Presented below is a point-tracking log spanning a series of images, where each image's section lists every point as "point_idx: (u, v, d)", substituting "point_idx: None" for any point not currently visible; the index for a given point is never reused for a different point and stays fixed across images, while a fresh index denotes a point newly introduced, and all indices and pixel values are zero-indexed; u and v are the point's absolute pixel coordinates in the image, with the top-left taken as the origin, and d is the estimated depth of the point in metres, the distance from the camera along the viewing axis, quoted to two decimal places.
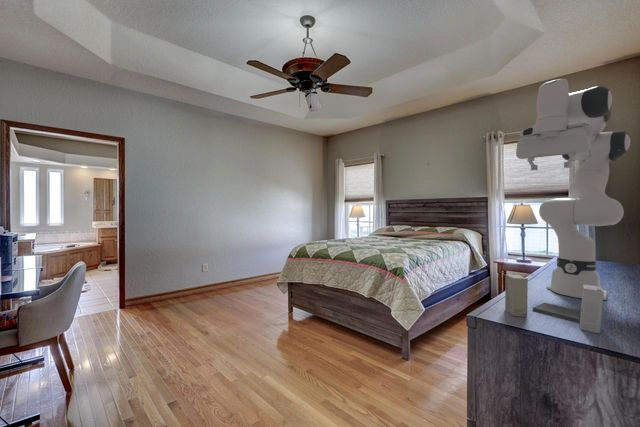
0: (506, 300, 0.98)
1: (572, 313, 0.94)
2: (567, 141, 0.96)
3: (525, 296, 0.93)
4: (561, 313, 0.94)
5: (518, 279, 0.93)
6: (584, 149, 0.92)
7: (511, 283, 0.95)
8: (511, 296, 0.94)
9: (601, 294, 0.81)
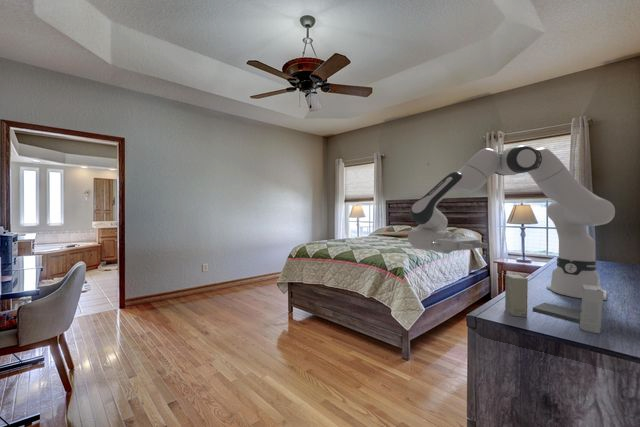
0: (506, 300, 0.98)
1: (572, 313, 0.94)
2: None
3: (525, 296, 0.93)
4: (561, 313, 0.94)
5: (518, 279, 0.93)
6: (451, 250, 1.04)
7: (511, 283, 0.95)
8: (511, 296, 0.94)
9: (601, 294, 0.81)
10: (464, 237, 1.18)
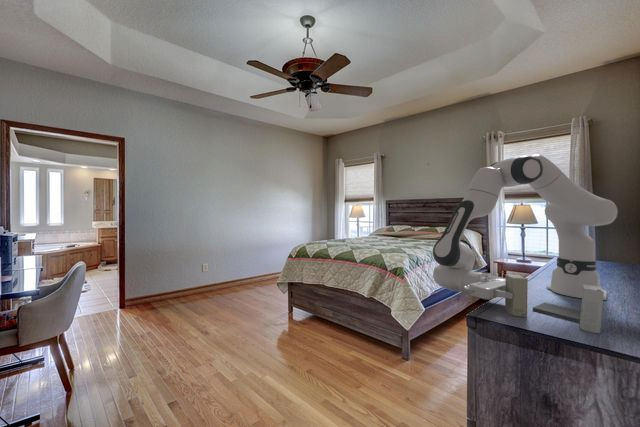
0: (506, 300, 0.98)
1: (572, 313, 0.94)
2: None
3: (525, 296, 0.93)
4: (561, 313, 0.94)
5: (518, 279, 0.93)
6: (488, 299, 0.94)
7: (511, 283, 0.95)
8: None
9: (601, 294, 0.81)
10: (497, 278, 1.08)
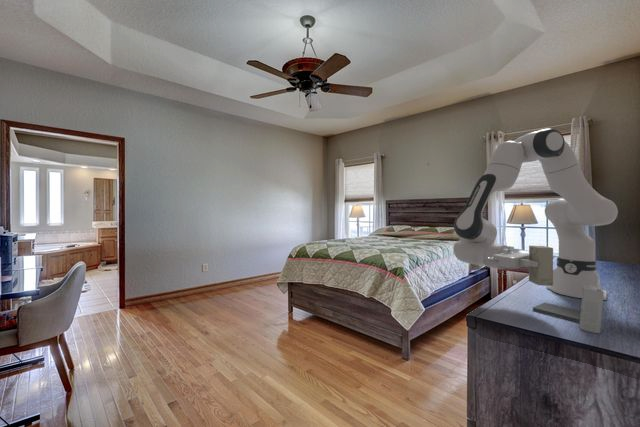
0: (530, 271, 0.98)
1: (572, 313, 0.94)
2: None
3: (551, 265, 0.93)
4: (561, 313, 0.94)
5: (543, 248, 0.93)
6: (513, 268, 0.94)
7: (536, 253, 0.95)
8: None
9: (601, 294, 0.81)
10: (519, 251, 1.08)
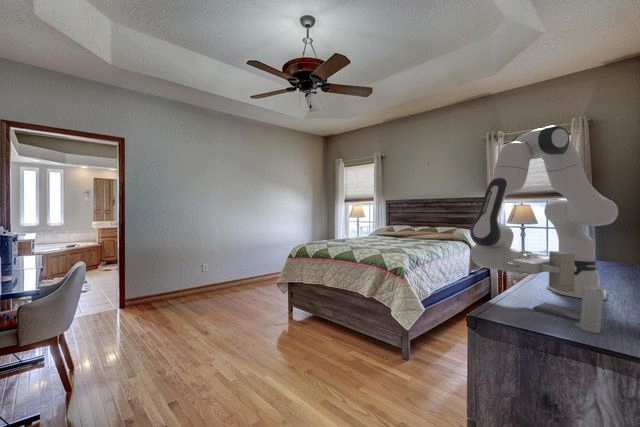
0: (550, 276, 0.99)
1: (572, 313, 0.94)
2: None
3: (572, 271, 0.93)
4: (561, 313, 0.94)
5: (565, 254, 0.94)
6: (534, 273, 0.95)
7: (557, 259, 0.95)
8: None
9: (601, 294, 0.81)
10: (538, 256, 1.08)
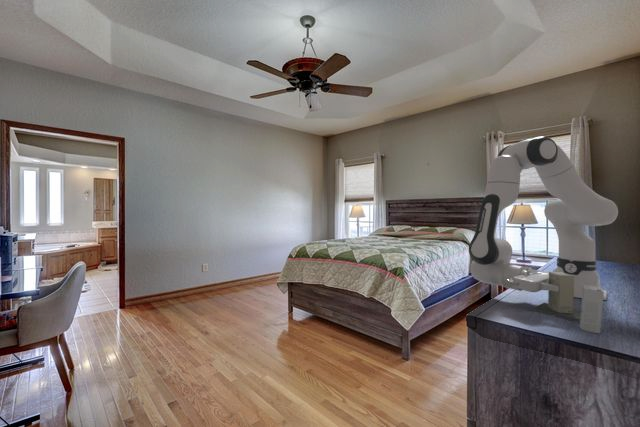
0: (550, 297, 0.99)
1: None
2: None
3: (571, 293, 0.93)
4: (561, 313, 0.94)
5: (565, 276, 0.94)
6: None
7: (557, 281, 0.95)
8: (557, 293, 0.95)
9: (601, 294, 0.81)
10: (538, 272, 1.08)
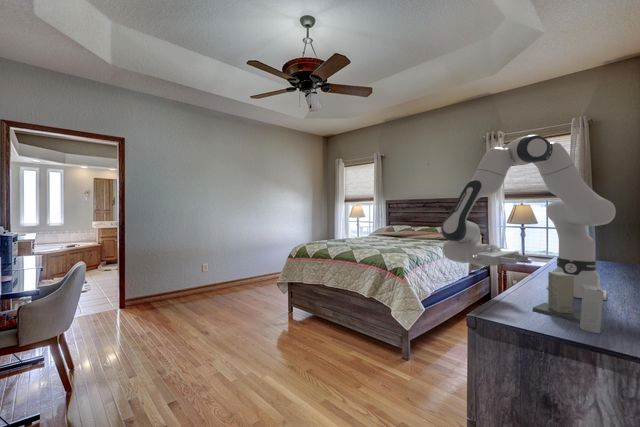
0: (550, 297, 0.99)
1: None
2: None
3: (571, 293, 0.93)
4: (561, 313, 0.94)
5: (564, 276, 0.94)
6: (494, 265, 1.05)
7: (556, 281, 0.95)
8: (557, 293, 0.95)
9: (601, 294, 0.81)
10: (502, 249, 1.19)
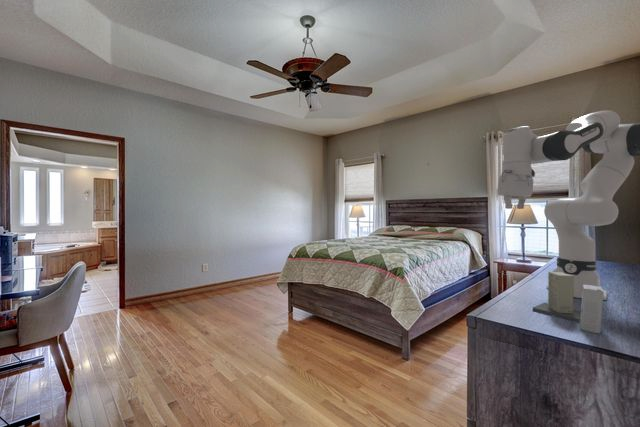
0: (550, 297, 0.99)
1: None
2: None
3: (571, 293, 0.93)
4: (561, 313, 0.94)
5: (564, 276, 0.94)
6: (498, 194, 1.05)
7: (556, 281, 0.95)
8: (557, 293, 0.95)
9: (601, 294, 0.81)
10: (530, 182, 1.11)
